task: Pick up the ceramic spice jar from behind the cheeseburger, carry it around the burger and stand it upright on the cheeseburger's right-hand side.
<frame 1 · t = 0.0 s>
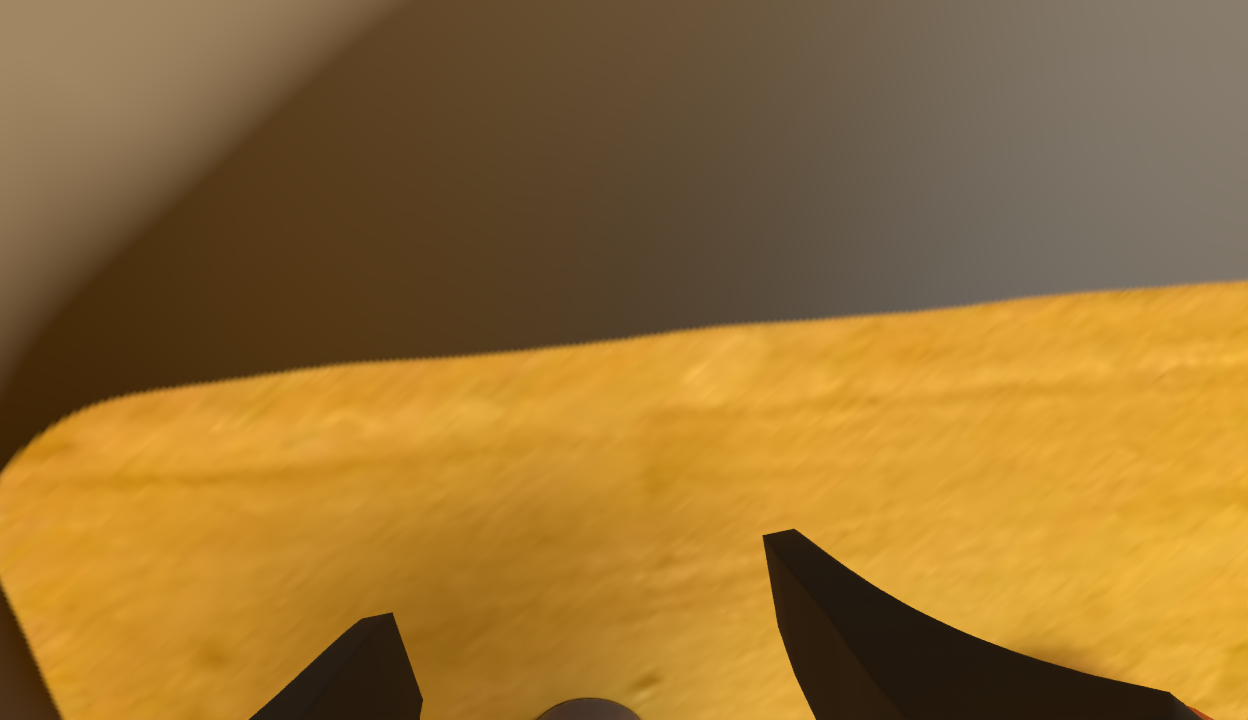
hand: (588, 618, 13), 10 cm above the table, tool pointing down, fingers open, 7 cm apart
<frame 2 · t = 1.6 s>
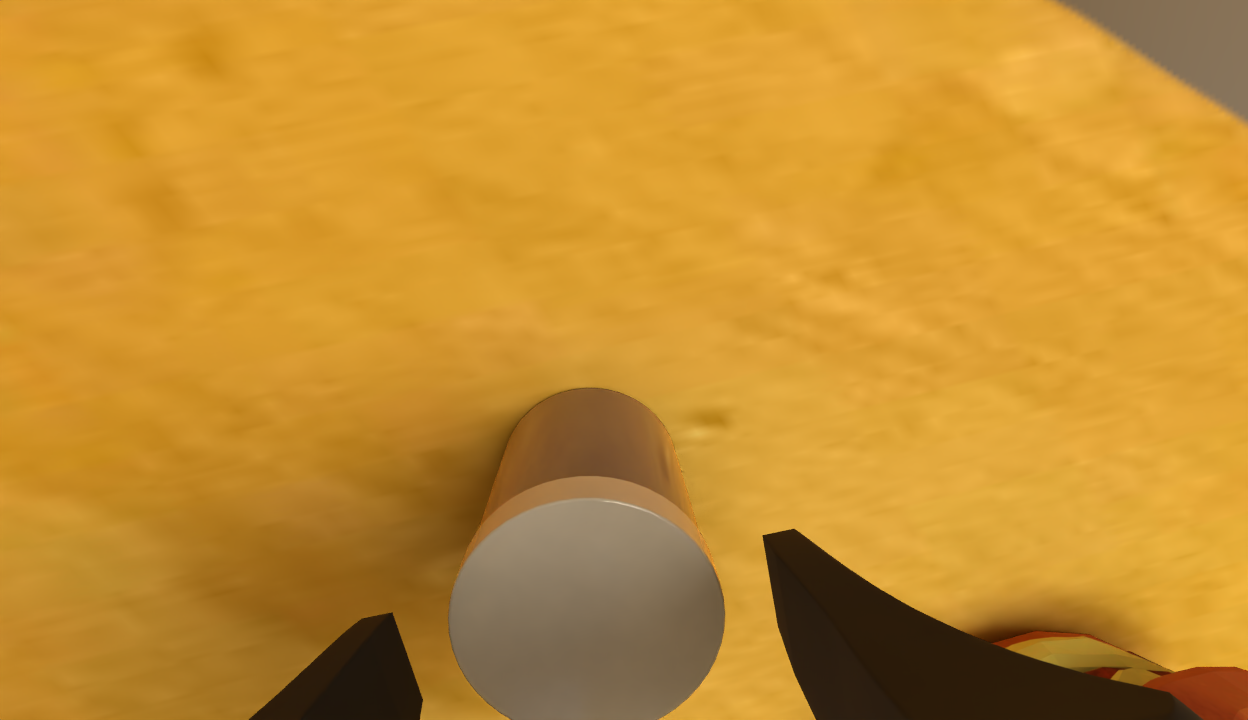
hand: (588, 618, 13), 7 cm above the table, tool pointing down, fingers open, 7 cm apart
spice jar: (590, 469, 19), on the table
cheeseburger: (1032, 716, 22), on the table
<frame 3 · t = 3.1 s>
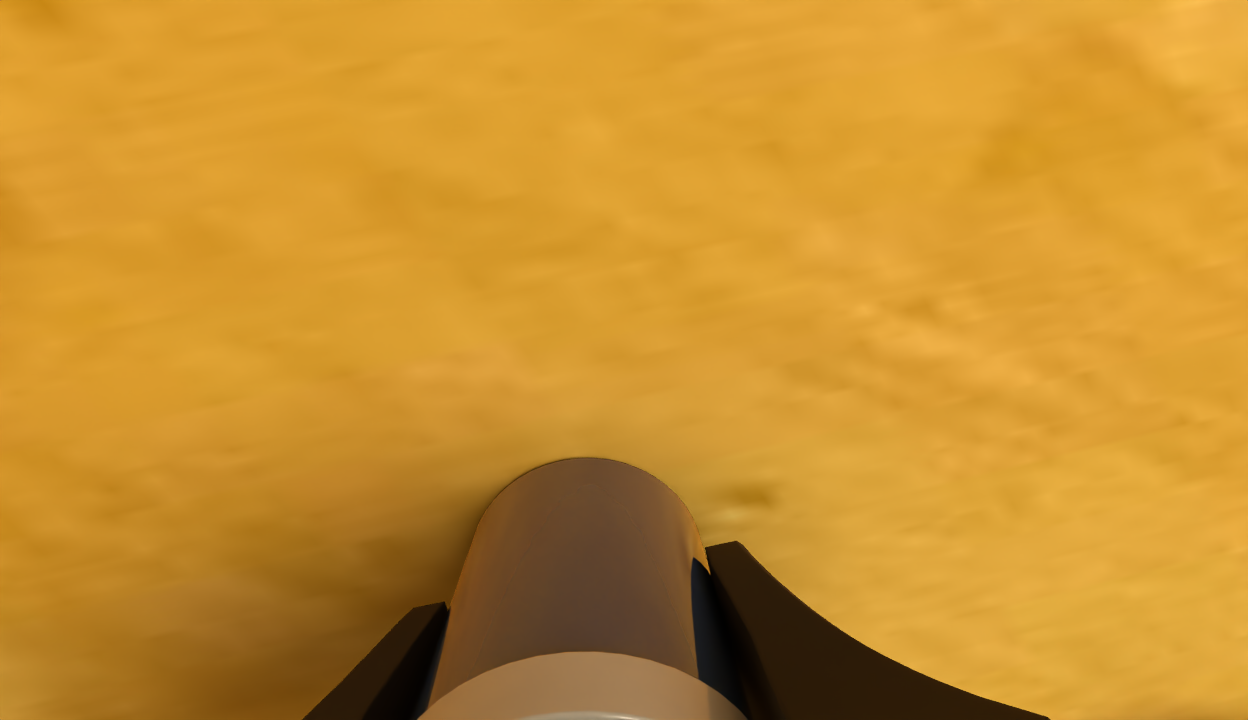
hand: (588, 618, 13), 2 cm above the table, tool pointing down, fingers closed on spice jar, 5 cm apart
spice jar: (587, 563, 14), on the table, touching gripper
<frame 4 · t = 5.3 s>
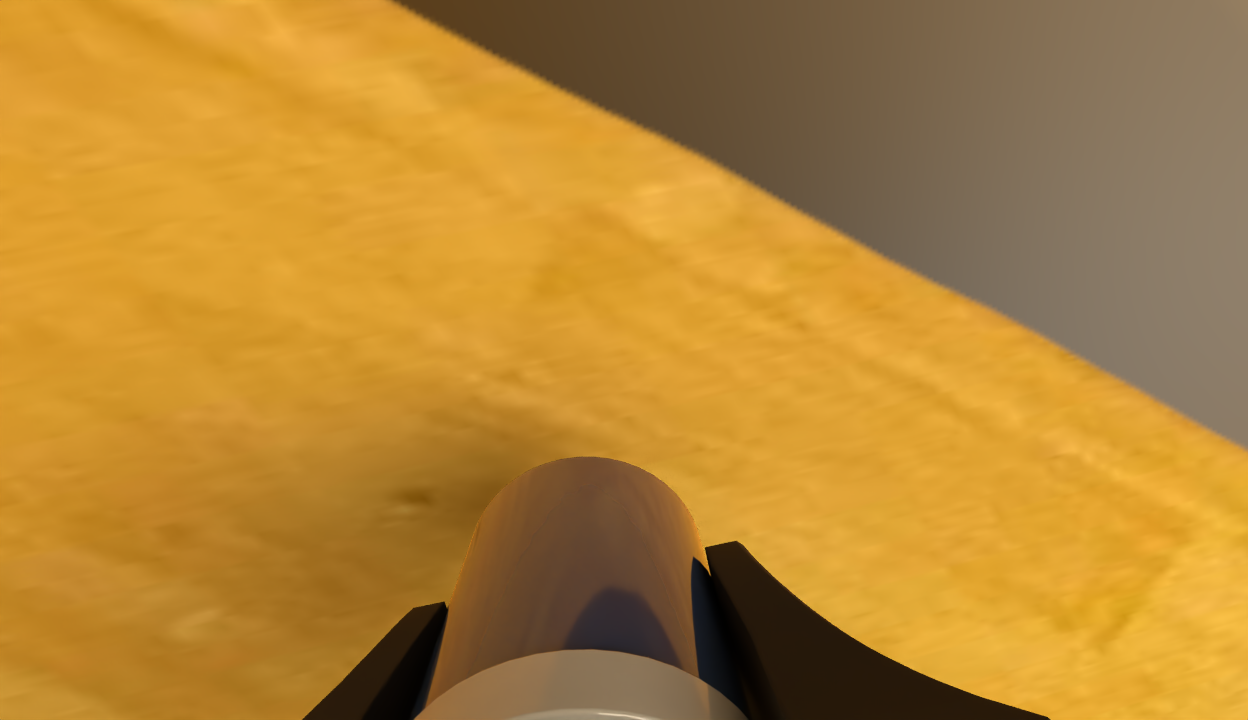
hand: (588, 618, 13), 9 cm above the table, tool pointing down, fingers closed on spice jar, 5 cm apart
spice jar: (586, 562, 14), point 7 cm above the table, touching gripper
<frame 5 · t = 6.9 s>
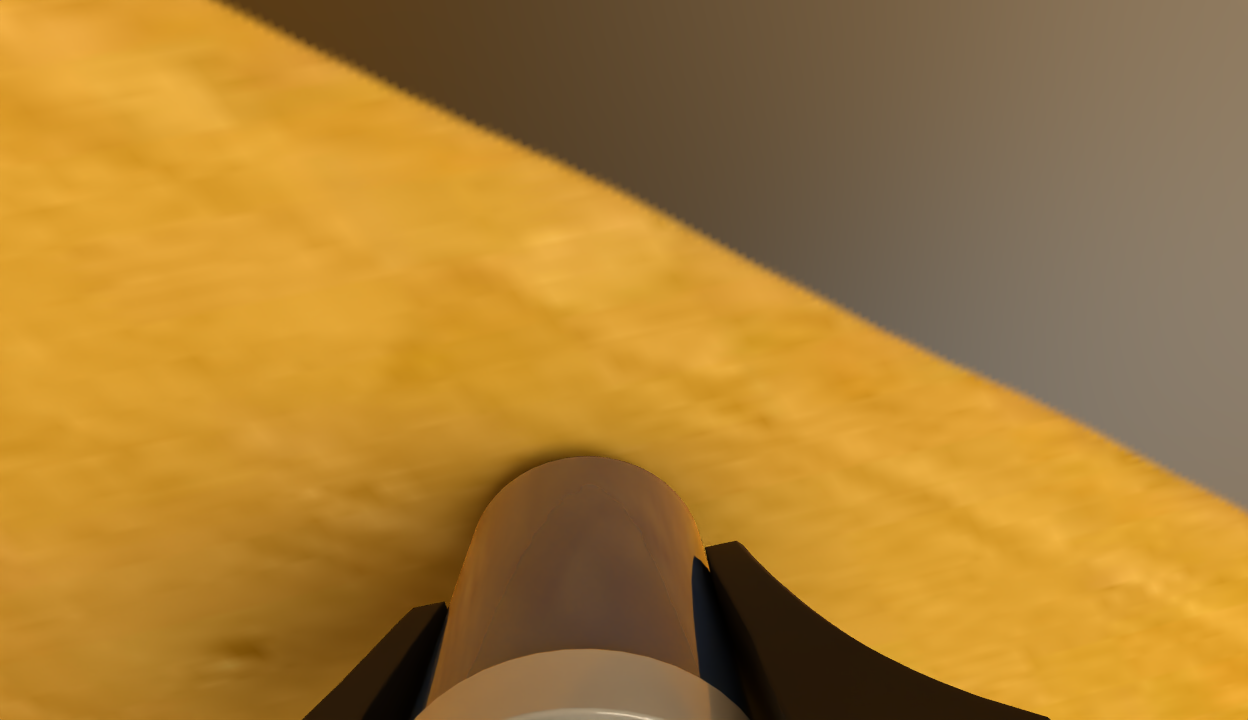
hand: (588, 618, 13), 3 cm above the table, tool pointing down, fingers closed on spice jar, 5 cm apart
spice jar: (587, 561, 14), point 1 cm above the table, touching gripper
when the fingers open (2 cm above the table, at t = 7.8 s): spice jar stays where it is, on the table.
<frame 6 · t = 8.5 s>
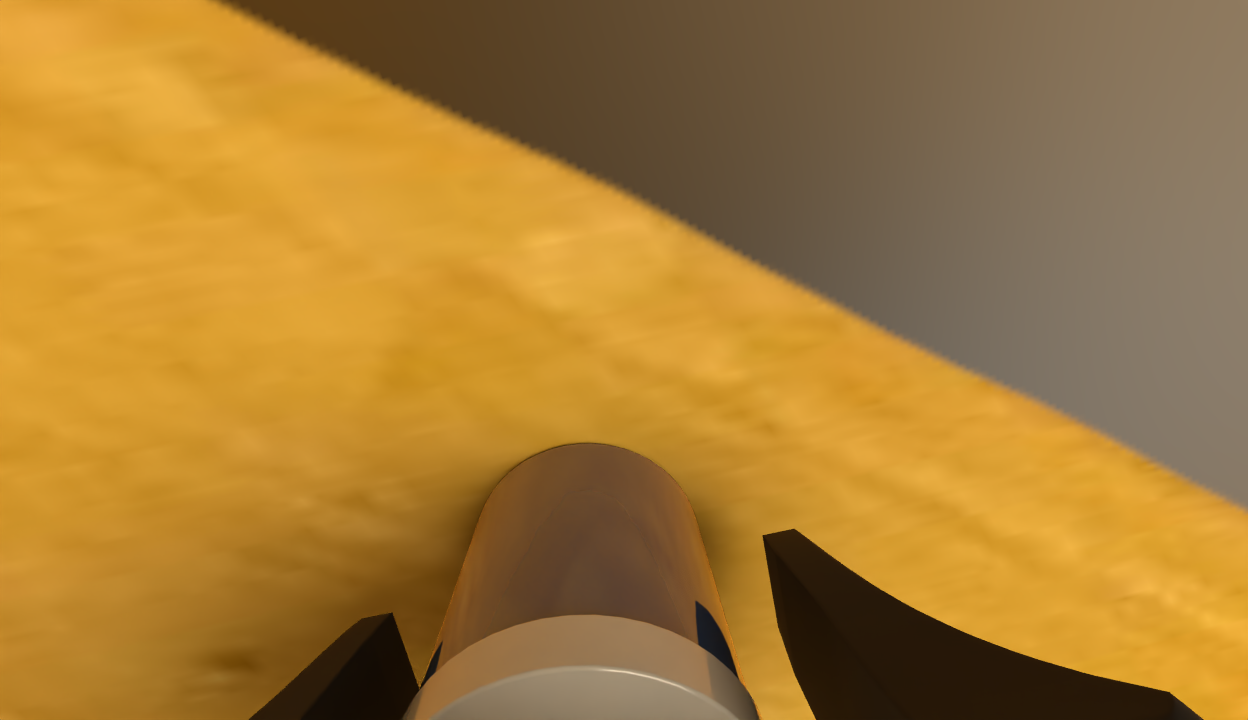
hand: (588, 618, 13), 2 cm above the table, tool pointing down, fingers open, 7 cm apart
spice jar: (588, 545, 15), on the table
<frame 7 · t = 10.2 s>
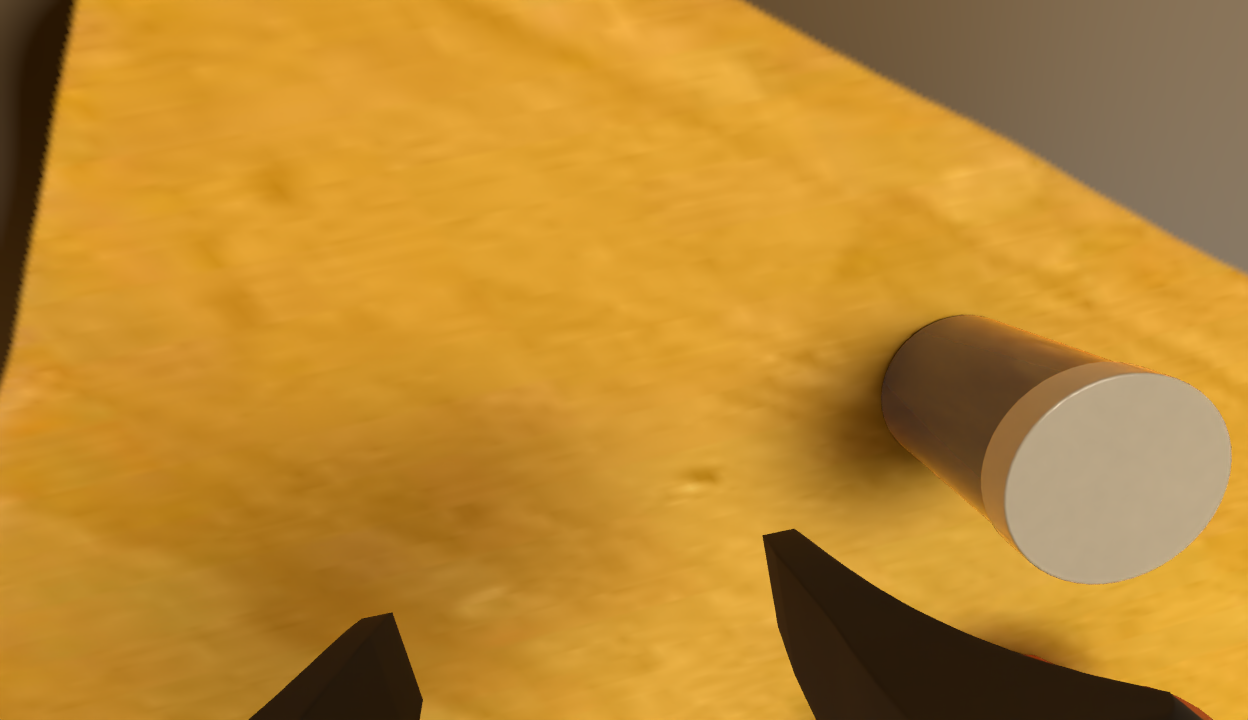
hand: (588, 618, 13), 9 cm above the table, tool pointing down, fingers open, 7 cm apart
spice jar: (955, 389, 22), on the table
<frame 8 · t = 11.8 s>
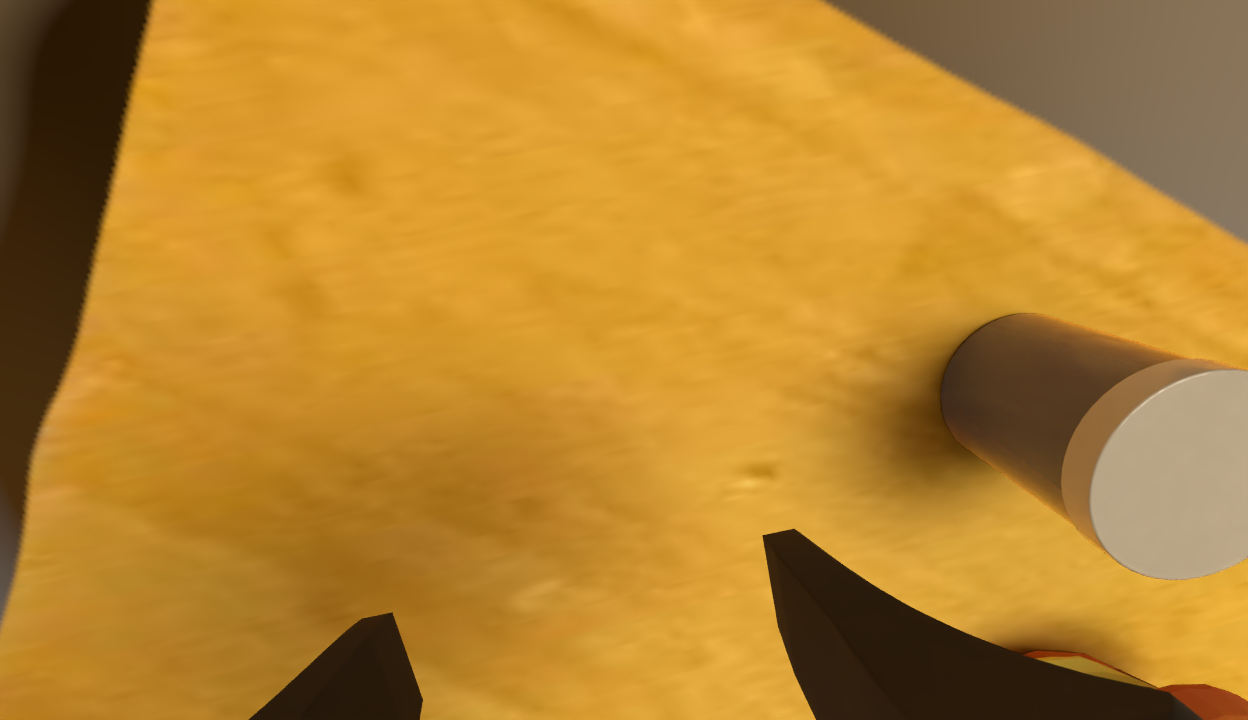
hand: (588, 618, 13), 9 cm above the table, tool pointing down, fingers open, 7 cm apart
spice jar: (1014, 387, 22), on the table
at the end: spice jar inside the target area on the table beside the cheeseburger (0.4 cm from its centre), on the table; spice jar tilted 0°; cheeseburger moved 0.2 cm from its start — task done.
